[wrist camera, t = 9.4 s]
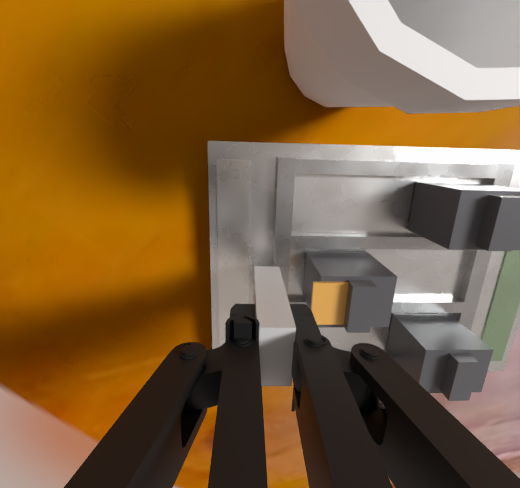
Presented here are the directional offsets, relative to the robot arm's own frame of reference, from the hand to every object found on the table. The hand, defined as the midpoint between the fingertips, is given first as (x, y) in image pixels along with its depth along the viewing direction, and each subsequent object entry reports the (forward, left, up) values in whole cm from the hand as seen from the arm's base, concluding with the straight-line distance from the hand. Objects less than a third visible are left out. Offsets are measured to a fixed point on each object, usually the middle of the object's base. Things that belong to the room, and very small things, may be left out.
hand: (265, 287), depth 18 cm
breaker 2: (+11, +5, -2) cm, 12 cm away
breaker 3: (+11, -4, -2) cm, 12 cm away
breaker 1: (+4, 0, -2) cm, 5 cm away
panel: (+8, 0, -3) cm, 8 cm away
